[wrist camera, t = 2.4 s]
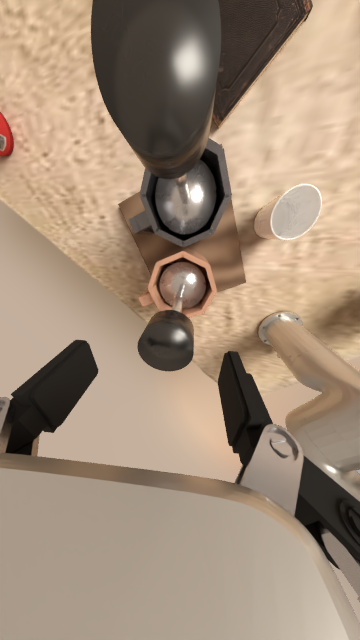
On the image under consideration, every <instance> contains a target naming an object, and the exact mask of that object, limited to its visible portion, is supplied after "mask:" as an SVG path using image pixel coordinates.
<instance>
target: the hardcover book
mask: <svg viewBox="0 0 360 640" xmlns="http://www.w3.org/2000/svg"><path fill="white" fill-rule="evenodd" d="M218 2H219V8H220V19H221V53H220V62H219V70H218V77H217V84H216V91H215V98H214V106H213V113H212V117H213V119H214V121H215V123H216V124H217V126H218V128H219V127H220V126H221V125H222V123H223V122H224V121H225V120H226V118H227V117H228V116H229V115H230V113H231V112H232V111H233V109H234V108H235V107H236V106H237V104H238V103H239V102H240V101H241V99H242V98H243V97H244V95H245V94H246V93H247V92H248V90H249V89H250V88H251V87H252V85H253V84H254V83H255V82H256V80H257V79H258V78H259V76H260V75H261V74H262V73H263V71H264V70H265V69H266V68H267V66H268V65H269V64H270V62H271V61H272V60H273V59H274V57H275V56H276V55H277V54H278V52H279V51H280V50H281V48H282V47H283V46H284V45H285V43H286V42H287V41H288V40H289V38H290V37H291V36H292V35H293V33H294V32H295V31H296V29H297V28H298V27H299V26H300V24H301V23H302V22H303V21H304V20H305V21H306V19H307V17H308V15H309V13H310V11H311V9H312V6H313V5H312V1H311V0H218Z"/></svg>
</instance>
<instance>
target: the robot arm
mask: <svg viewBox="0 0 360 640" xmlns="http://www.w3.org/2000/svg"><path fill="white" fill-rule="evenodd" d="M258 335H259V337H260V339H261V340H262V342H264V343H265V344H267V345H271V346H272V347H273V348H274V350H275V351H276V352H277V356H278V357H279V358H281V359H282V360H283V362H284V363H285V364H286V366H287V367H288V368H289V370H290V371H291V372H292V374H293V375H294V376H295V378H296V379H297V380H298V381H299V382H300V383H302V384H303V385H305V386H307V387H309V388H311V389H314V390H317V391H320V392H322V394H321V395H319V396H317V397H315V398H314V399H312V400H311V401H309V402H307V403H305V404H303V405H301V406H299V407H298V408H296V409H294V410H293V411H291V412H290V413H289V414H288V415H287V416H286V419H285V422H286V427H287V430H286V429H285V428H283V427H282V426H279V425H276V424H273V423H272V420H271V418H270V416H269V414H268V411H267V409H266V407H265V404H264V402H263V400H262V397H261V395H260V393H259V391H258V388H257V386H256V384H255V381H254V379H253V377H252V375H251V374H248V373H246V371H245V369H244V366H243V364H242V361H241V359H240V356H239V354H238V352H233V351H228V352H227V353H225V354H224V358H223V362H222V366H221V371H220V375H219V379H218V386H219V393H220V398H221V404H222V409H223V415H224V421H225V427H226V432H227V438H228V443H229V446H232V448H233V452H234V453H239V457H240V461H241V463H242V467H241V469H240V472H239V474H238V476H237V478H236V481H235V483H231V482H226V481H222V480H216V479H210V478H203V477H197V476H190V475H183V474H176V473H168V472H160V471H152V470H144V469H137V468H129V467H121V466H113V465H105V464H97V463H88V462H79V461H71V460H64V459H55V458H46V457H38V456H37V453H38V444H39V435H40V433H41V432H42V431H44V432H51V433H54V431H55V430H56V428H57V427H59V426H60V425H61V424H62V423H63V422H64V420H65V419H66V418H67V416H68V414H69V413H70V412H71V410H72V409H73V408H74V406H75V405H76V404H77V402H78V401H79V399H80V398H81V396H82V395H83V394H84V392H85V391H86V390H87V388H88V387H89V385H90V384H91V382H92V381H93V380H94V378H95V377H96V376H97V374H98V368H97V365H96V362H95V360H94V357H93V354H92V351H91V349H90V346H89V344H88V343H87V341H84V340H75V341H74V342H73V343H71V344H70V345H69V346H68V347H66V348H65V349H64V350H63V351H62V352H61V353H59V354H58V355H57V356H56V357H55V358H53V359H52V360H51V361H50V362H49V363H47V364H46V365H45V366H44V367H43V368H41V369H40V370H39V371H38V372H37V373H36V374H34V375H33V376H32V377H31V378H30V379H28V380H27V381H26V382H25V383H24V384H23V385H21V386H20V387H19V388H18V389H17V390H15V391H14V392H13V393H12V394H11V395H12V396H13V397H14V398H12V399H11V400H9V398H7V397H0V640H360V623H359V621H358V619H357V616H356V614H355V612H354V610H353V608H352V606H351V604H350V602H349V600H348V598H347V596H346V594H345V592H344V590H343V588H342V586H341V584H340V582H339V580H338V578H337V576H336V574H335V572H334V570H333V568H332V567H331V565H330V563H329V561H330V562H331V563H332V564H333V565H334V566H335V567H336V568H338V569H340V570H341V571H342V573H343V574H344V575H345V577H346V578H347V580H348V581H349V583H350V584H351V586H352V587H353V588H354V590H355V591H356V593H357V594H358V596H359V597H358V600H359V602H360V474H359V473H358V472H357V471H356V470H359V469H360V371H359V370H358V369H357V368H355V367H354V366H353V365H351V364H350V363H348V362H347V361H346V360H344V359H343V358H342V357H341V356H339V355H338V354H337V353H335V352H334V351H333V350H332V349H330V348H329V347H328V346H326V345H325V344H324V343H323V342H321V341H320V340H319V339H318V338H316V337H315V336H314V335H312V334H311V333H310V332H309V331H307V330H306V329H305V328H304V327H303V323H302V320H301V318H300V317H299V316H298V315H296V314H294V313H292V312H287V311H282V312H277V313H274V314H272V315H270V316H268V317H267V318H265V319H264V320H263V321H262V323H261V324H260V326H259V329H258ZM328 560H329V561H328Z"/></svg>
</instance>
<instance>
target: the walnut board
mask: <svg viewBox="0 0 360 640" xmlns="http://www.w3.org/2000/svg"><path fill="white" fill-rule="evenodd" d="M220 145H221V146H222V144H220ZM118 205H119V207H120V209H121V211H122V213H123V216H124V218H125V220H126V222H127V224H128V226H129V229H130V231H131V233H132V235H133V237H134V239H135V241H136V244H137V246H138V248H139V250H140V252H141V254H142V257H143V259H144V261H145V263H146V265H147V267H148V270H149V272H150V274H151V276H152V273H153V270H154V267H155V264H156V263H157V262H158V261H160V260H161V259H163V258H165V257H167V256H169V255H171V254H174V253H176V252H178V251H181V250H183V249H185V248H189V249H191V250H193V251H195V252H197V253H199V254H200V255H202V256H204V257H205V258H206V260H207V261H208V263H209V264H210V267H211V271H212V274H213V278H214V281H215V285H216V289H217V292H219V291H222V290H225V289H228V288H231V287H234V286H237V285H240V284H243V283H246V279H245V274H244V268H243V262H242V257H241V251H240V245H239V240H238V234H237V228H236V223H235V217H234V211H233V206H232V200H231V199H230V201H229V203H228V205H227V207H226V209H225V211H224V213H223V215H222V218H221V220H220V222H219V224H218V226H217V228H216V230H215V232H214V234H213V235H211V236H209V237H207V238H204V239H202V240H200V241H197V242H195V243H193V244H191V245H188V246H186V247H181V246H179V245H177V244H175V243H173V242H171V241H169V240H167V239H165V238H163V237H161V236H159V235H157V234H155V233H154V234H152V235H150V236H149V235H142V234H135V233H134V231H133V229H132V227H131V225H130V223H129V220H128V219H130V218H132V217H134V216H136V215H138V214H139V213H141V212H143V211H145V209H144V206H143V204H142V201H141V199H140V192H138V193H137V194H135V195H133V196H132V197H130V198H128V199H126V200H125V201H123V202H121V203H120V204H118Z"/></svg>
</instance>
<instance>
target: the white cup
mask: <svg viewBox="0 0 360 640" xmlns="http://www.w3.org/2000/svg"><path fill="white" fill-rule="evenodd" d="M321 206H322V198H321V194H320V192H319V190H318V189H317V188H316V187H315V186H313V185H310V184H300V185H297V186H294V187H292V188H290V189H289V190H287V191H286V192H284V193H283V194H281V195H280V196H278V197H277V198H275V199H274V200H272V201H271V202H270V203H268V204H267V205H266V206H264V207H263V208H262V209H261V210H260V211H259V212H258V214H257V216H256V218H255V220H254V229H255V232H256V234H257V235H258V236H260V237H261V238H267V239H275V240H293V239H296V238H298V237H300V236H302V235H303V234H305V233H306V232H307V231H308V230H309V229H310V228H311V227H312V226H313V225H314V223H315V222H316V220H317V218H318V216H319V214H320V211H321Z"/></svg>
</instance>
